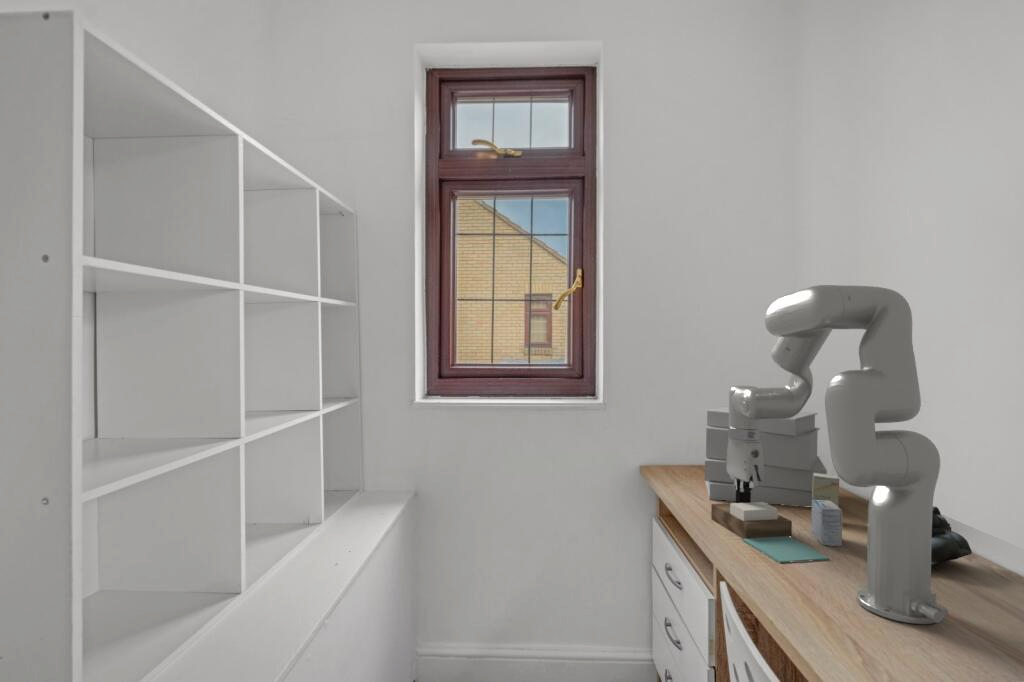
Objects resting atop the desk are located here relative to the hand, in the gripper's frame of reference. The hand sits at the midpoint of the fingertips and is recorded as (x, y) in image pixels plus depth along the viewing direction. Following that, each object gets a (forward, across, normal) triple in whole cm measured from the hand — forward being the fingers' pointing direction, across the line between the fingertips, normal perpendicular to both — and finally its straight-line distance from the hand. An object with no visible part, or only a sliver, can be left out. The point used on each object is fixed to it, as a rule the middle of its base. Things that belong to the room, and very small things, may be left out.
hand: (743, 506), depth 148 cm
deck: (+5, -1, -1) cm, 5 cm away
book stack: (+6, +27, -23) cm, 36 cm away
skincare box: (+5, +1, -24) cm, 25 cm away
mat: (+5, -16, 0) cm, 17 cm away
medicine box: (+5, -12, -14) cm, 19 cm away
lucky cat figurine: (+5, -27, -25) cm, 37 cm away
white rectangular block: (0, -5, 0) cm, 5 cm away
